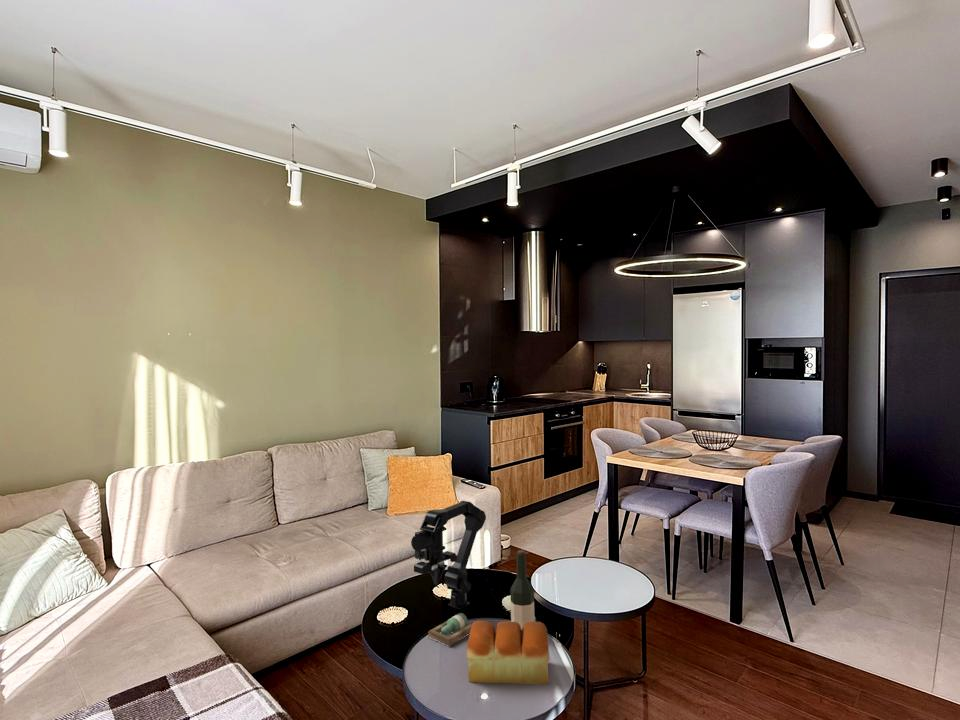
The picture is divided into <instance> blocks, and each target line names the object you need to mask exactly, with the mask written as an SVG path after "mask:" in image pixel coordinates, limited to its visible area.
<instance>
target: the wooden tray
mask: <svg viewBox="0 0 960 720" xmlns="http://www.w3.org/2000/svg"><path fill="white" fill-rule="evenodd" d="M447 621H448V620H446V621H444V622H443V623H440V624H439V625H437V626H435V627H434V628H432V629H429V630H428V632H427V634H428V638H429V637H431V638H433V639H436V640H438V641H440V642H441V643H444V644H445V645H448V646H450V645H452V644H453V643H455V642H457V641H458V640H459V639H461V638H462V637H464V636H466V635H467V634H469V633H470V630H471V626H472V624H473V623H474V622H471V623H470V624H468V626H466V627H464V628H463V629H461V630H459V631H458V632H456V633H454V634H451V635H449V636H448V635H443V634H441V633H440V632H441V628H442V627H444V626H446V625H447ZM458 642H459V641H458ZM458 642H457V643H458ZM455 644H456V643H455ZM445 645H444V646H445ZM452 646H453V645H452ZM450 647H451V646H450Z"/></svg>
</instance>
